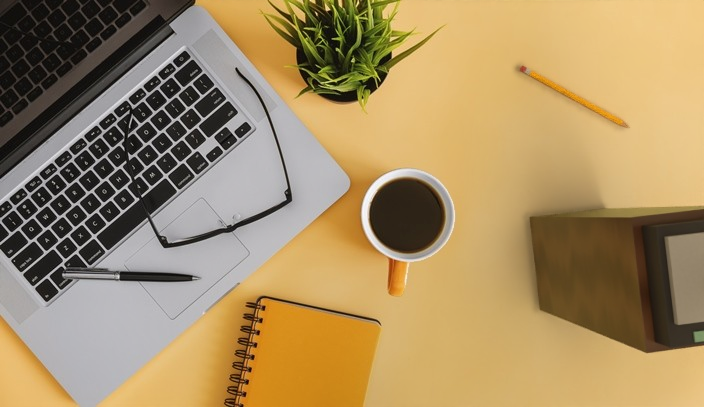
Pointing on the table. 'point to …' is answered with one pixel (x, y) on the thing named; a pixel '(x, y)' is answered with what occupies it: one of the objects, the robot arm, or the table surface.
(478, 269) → the table surface
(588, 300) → the riser
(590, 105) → the pencil
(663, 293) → the scale
